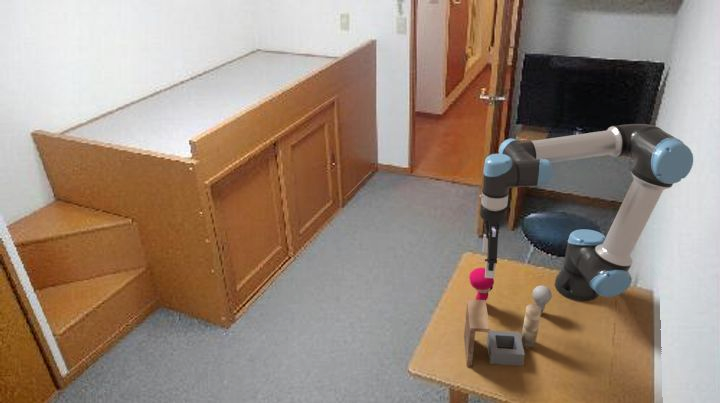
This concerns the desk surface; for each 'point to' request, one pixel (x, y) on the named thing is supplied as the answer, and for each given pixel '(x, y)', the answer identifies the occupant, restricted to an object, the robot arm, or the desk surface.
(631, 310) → the desk surface
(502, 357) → the socket
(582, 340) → the desk surface
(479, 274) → the toy
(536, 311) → the peg
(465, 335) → the wooden lipped block
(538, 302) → the lightbulb
